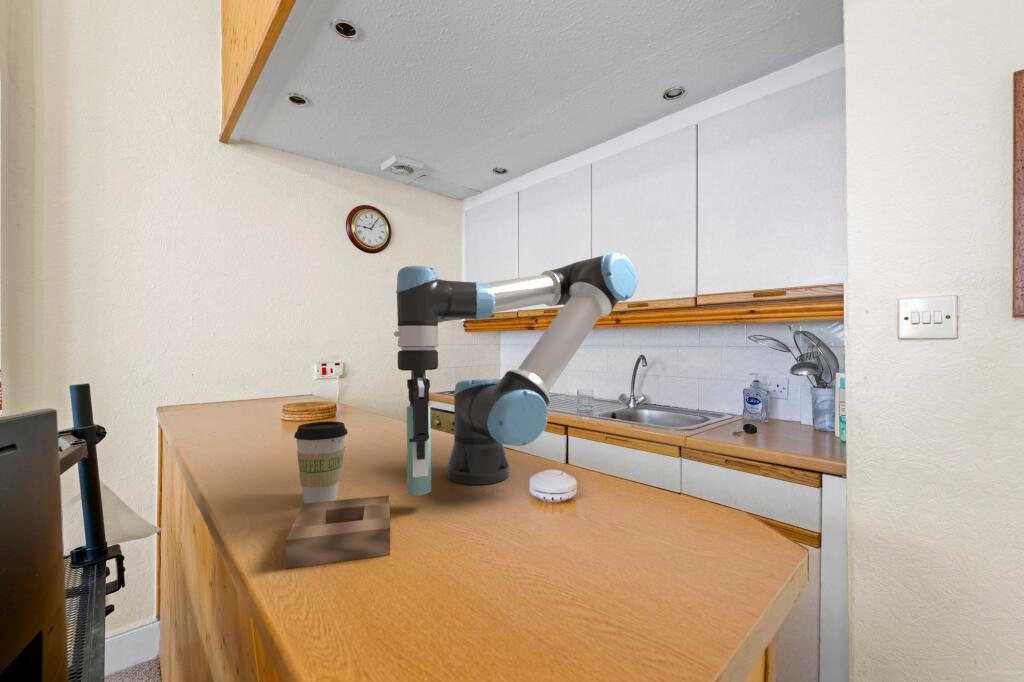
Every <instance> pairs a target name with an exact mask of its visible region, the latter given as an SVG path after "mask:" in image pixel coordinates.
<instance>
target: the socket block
mask: <svg viewBox="0 0 1024 682" xmlns="http://www.w3.org/2000/svg"><path fill="white" fill-rule="evenodd" d="M390 510H391V509H390V495H379V496H369V497H359V498H350V499H347V498H346V499H336V500H335V501H326V502H315V503H305V504H304V503H303V504H302V506H301V508H300V510H299V512H298V514H297V516H296V518H295V520H294V522H293V524H292V526H291V528H290V530H289V533H288V534H287V536H286V537H285V541H284V543H285V551H284V553H285V554H284V556H285V557H284V563H285V564H284V568H285V569H284V570H288V569H295V568H302V567H309V566H311V567H312V566H317V565H324V564H332V563H338V562H339V563H340V562H345V561H353V560H362V559H368V558H377V557H384V556H391V516H390V515H391V514H390V513H391V512H390Z"/></svg>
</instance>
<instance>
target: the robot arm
mask: <svg viewBox="0 0 1024 682" xmlns="http://www.w3.org/2000/svg"><path fill="white" fill-rule="evenodd" d="M396 279H397V280H396V290H395V293H396V303H397V304H396V307H397V308H396V309H397V310H396V311H397V330H398V331H394V332H393V336H394V337H398V338H397V347H399V348H400V349H401V350H398V352H397V369H398V370H399V371H408V372H409V371H410V379H409V378H408V379H407V381H406V382H407V383H406V385H407V387H406V388H407V389H408V401H409V406H413V439H409V442H412V449H413V477H420V476H428V440H427V439H429V428H428V406H429V402H430V391H429V390H430V388H431V382H430V381H431V380H430V379H429V378H427V375H426V371H433V370H437V369H438V368H439V352H438V350H437V349H436V347H439V326H438V325H439V323H443V322H449V321H461V320H474V321H476V320H486V319H488V318H490V317H491V316H492V315H493V314H494V313H498V312H506V311H510V310H511V311H512V310H515V309H522V308H528V307H533V306H539V305H545V306H547V307H555V306H563V307H562V308H561V310H560V311H559V312H558V313H557V315H556V316H555V317H554V318H553V320H552V321H551V323H550V324H549V325H548V327H547V328H546V330H545V331H544V332H543V334H542V335H541V336H540V338H539V339H538V341H536V344H534V346H533V347H532V349H531V350H530V351H529V353H528V354H527V355H526V357H525V359H524V360H523V361H522V363H521V364H520V365H519V366H518V368H517V369H510V370H507V371H506V372H505V374H504V375H503V376H502V378H481V379H467V380H460V381H458V382H456V384H455V387H454V394H453V400H454V402H453V404H454V405H453V406H454V408H453V409H454V411H453V412H454V414H453V415H454V416H453V417H454V419H453V421H454V422H453V423H454V424H453V425H454V426H453V428H454V433H453V436H454V440H453V441H454V442H453V447H452V449H451V453H450V456H449V458H448V461H447V464H446V478H447V479H448V480H449V481H451V482H455V483H459V484H463V485H476V486H478V485H489V484H496V483H499V482H501V481H504V480H506V479H507V478H509V476H510V463H509V460H508V456H507V453H506V450H505V447H504V445H506V446H513V447H523V446H527V445H530V444H531V443H533V442H534V441H536V440H537V439H539V438H540V436H541V435H542V434H543V432H544V431H545V429H546V427H547V424H548V420H549V418H548V416H547V415H548V414H549V410H548V406H549V404H550V403H551V398H550V391H551V389H552V388H553V386H554V384H555V383H556V382H557V380H558V379H559V378H560V377H561V374H562V373H563V372H564V370H565V369H566V367H567V366H568V364H569V362H570V361H571V360H572V359H573V358H574V356H575V354H576V352H578V349H579V348H580V347H581V346H582V344H583V342H584V341H585V339H587V336H588V335H589V334H590V332H591V331H592V329H593V327H594V326H595V325H596V324H597V322H598V320H599V319H600V318H604V317H605V318H606V317H607V316H609V315H610V314H611V312H612V311H613V310H614V308H615V307H616V305H617V303H619V302H620V301H621V302H625V301H627V300H629V299H631V298H632V297H633V296H634V295H635V292H636V290H637V285H638V278H637V272H636V269H635V266H634V264H633V263H632V261H631V259H629V258H628V257H627V256H626V255H625V254H623V253H620V252H613V253H608V252H607V253H605V254H603V255H600V256H596V257H592V258H588V259H583V260H580V261H576V262H573V263H571V264H570V263H569V264H567V265H565V266H562V267H559V268H555V269H551V270H550V269H549V270H544V271H543V272H542V273H540V275H533V276H527V277H519V278H510V279H504V280H498V281H497V280H495V281H490V282H478V281H461V280H460V281H457V280H444V279H441V278H439V276H438V271H437V269H436V268H434V267H431V266H430V267H429V266H425V265H410V266H404V267H402V268H400V269H399V271H397V278H396Z"/></svg>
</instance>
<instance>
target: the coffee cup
mask: <svg viewBox="0 0 1024 682" xmlns="http://www.w3.org/2000/svg"><path fill="white" fill-rule="evenodd" d="M347 434H348V429H347V428H346V426H345V423H344V422H343V421H342V422H341V421H335V420H334V421H332V420H331V421H327V420H326V421H315V422H313V421H312V422H307V423H303V424H299V425H298V427H297V429H296V432H295V433H294V436H293V438H294V439H296V446H297V451H296V453H297V455H296V456H297V463H298V469H299V470H298V471H299V472H298V473H299V480H300V485H301V490H302V492H301V493H302V499H303V504H305V503H315V502H326V501H336V500H338V494H339V487H340V486H339V485H340V482H341V477H342V470H343V462H344V454H345V441H346V440H345V439H346V435H347Z"/></svg>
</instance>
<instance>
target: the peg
mask: <svg viewBox="0 0 1024 682" xmlns="http://www.w3.org/2000/svg"><path fill="white" fill-rule="evenodd" d="M431 427H432V426H431V405H428V428H429V439H427V440H428V476H420V477H413V449H412V442H409V439H413V406H410V405H409V406H407V407H406V457H407V458H406V462H407V463H406V467H407V468H406V472H407V474H406V478H407V479H406V481H407V494H408V495H411V496H424V495H426V494H429V493H431V492H432V440H431V437H432V436H431V435H432V434H431V432H432V431H431V429H432V428H431Z"/></svg>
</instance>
